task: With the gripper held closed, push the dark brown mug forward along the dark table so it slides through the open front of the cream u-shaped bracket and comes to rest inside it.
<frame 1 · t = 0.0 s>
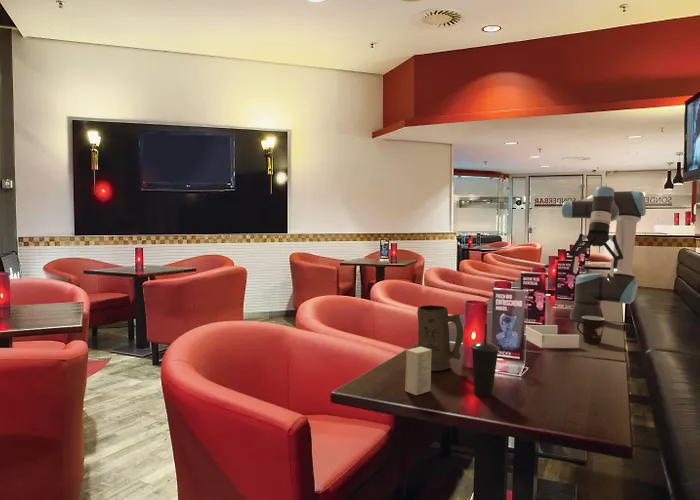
hand: (592, 274, 207), 28 cm above the table, tool tilted 20°, fingers open, 13 cm apart
dark brown mug: (588, 342, 210), on the table
cream u-shaped bracket: (549, 342, 209), on the table
drinking cup: (483, 395, 145), on the table
skincare box: (417, 392, 147), on the table
beer stein: (438, 368, 170), on the table
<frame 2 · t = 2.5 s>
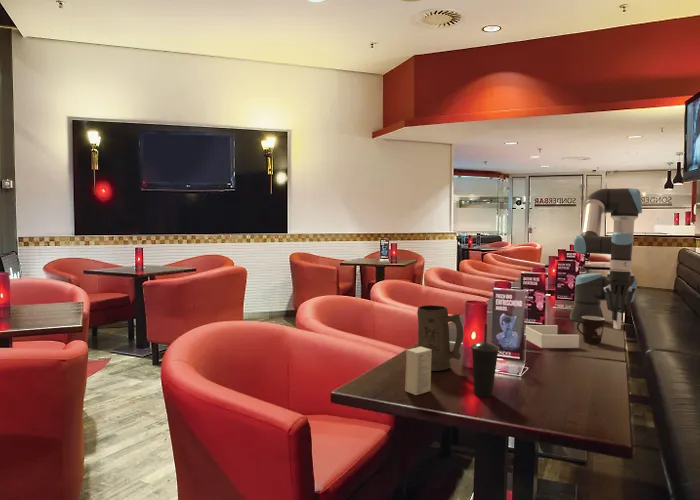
hand: (616, 328, 211), 6 cm above the table, tool pointing down, fingers closed
nothing on the table moved.
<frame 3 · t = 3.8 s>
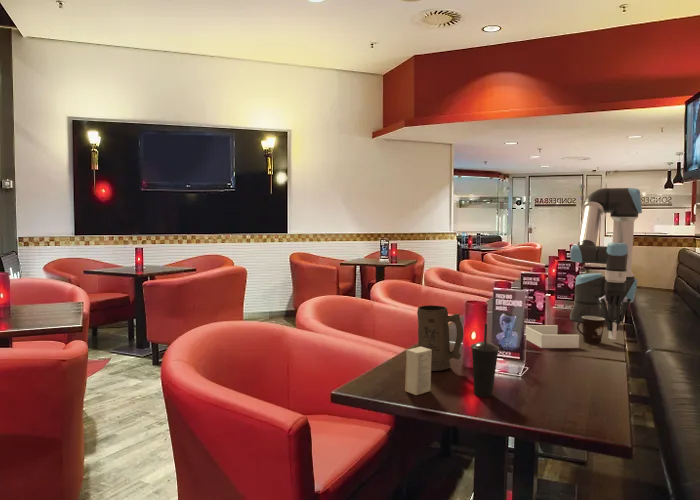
hand: (612, 338, 211), 1 cm above the table, tool pointing down, fingers closed
nothing on the table moved.
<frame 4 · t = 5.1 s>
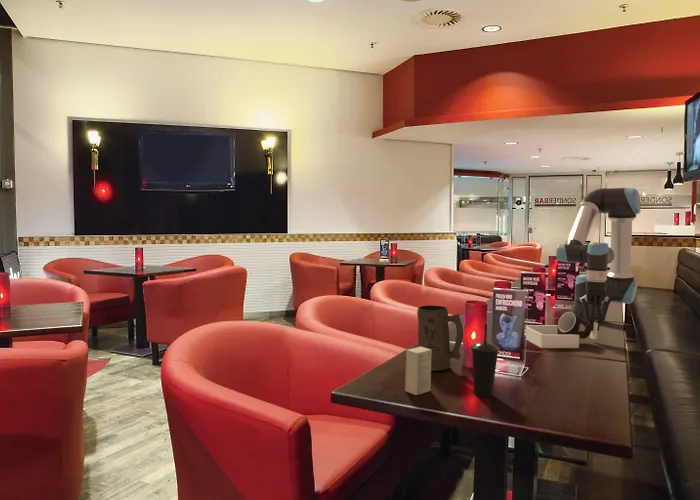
hand: (593, 338, 210), 2 cm above the table, tool pointing down, fingers closed
dark brown mug: (582, 334, 209), point 3 cm above the table, touching gripper
everything else where it was.
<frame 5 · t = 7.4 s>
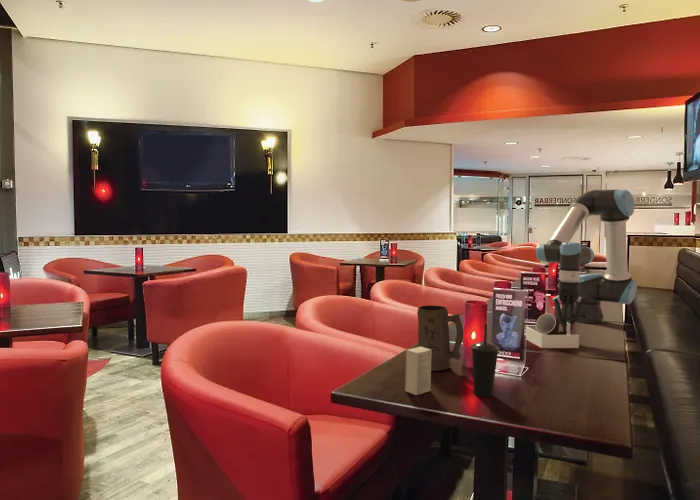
hand: (566, 338, 209), 1 cm above the table, tool pointing down, fingers closed
dark brown mug: (557, 336, 207), point 2 cm above the table, touching cream u-shaped bracket, gripper
everything else where it was.
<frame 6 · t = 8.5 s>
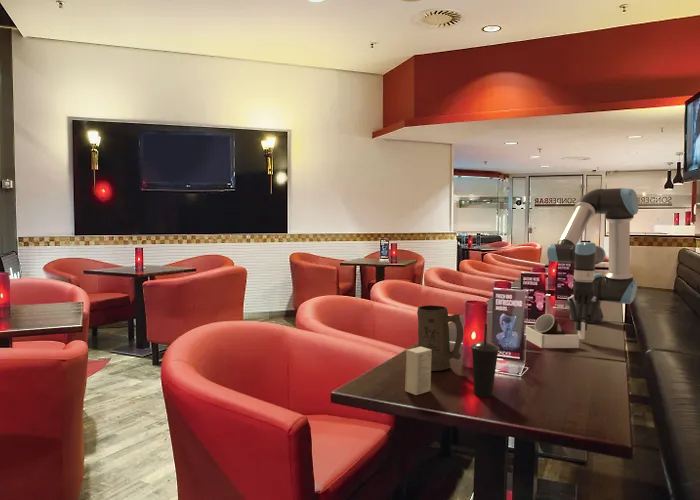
hand: (580, 338, 210), 2 cm above the table, tool pointing down, fingers closed
dark brown mug: (556, 339, 208), point 1 cm above the table, touching cream u-shaped bracket
everything else where it was.
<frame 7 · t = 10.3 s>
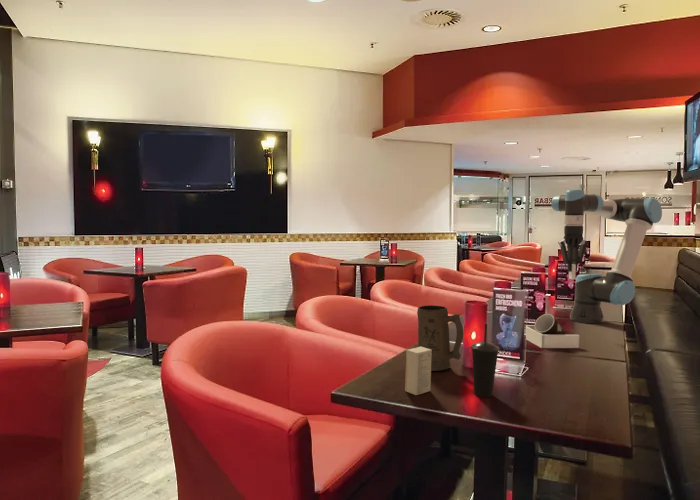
hand: (571, 278, 228), 23 cm above the table, tool pointing down, fingers closed
nothing on the table moved.
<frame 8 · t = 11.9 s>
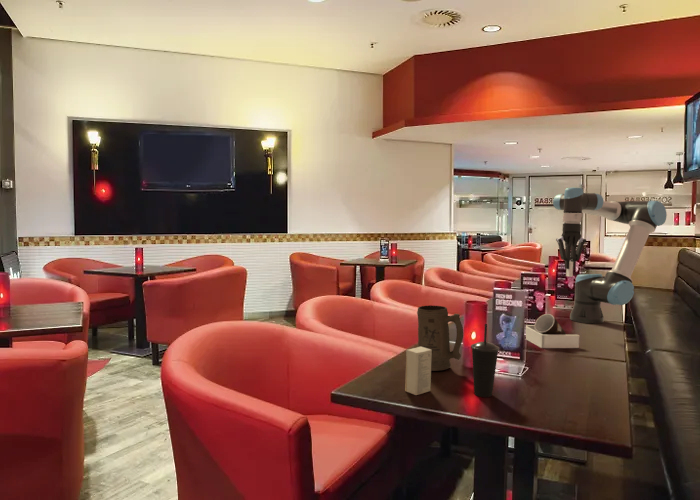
hand: (569, 276, 230), 24 cm above the table, tool pointing down, fingers closed
nothing on the table moved.
at the end: dark brown mug inside the target area (3.1 cm from its centre), point 1.2 cm above the table; dark brown mug moved 13.9 cm from its start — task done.
